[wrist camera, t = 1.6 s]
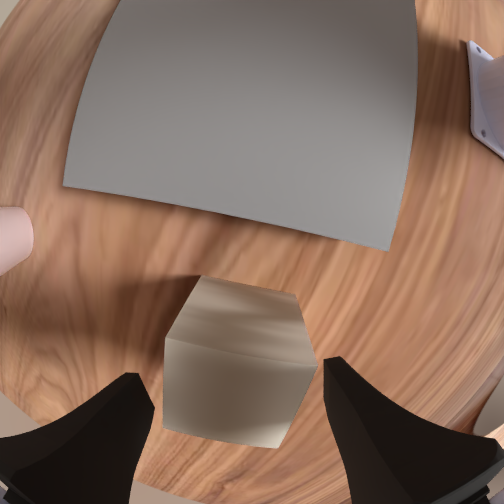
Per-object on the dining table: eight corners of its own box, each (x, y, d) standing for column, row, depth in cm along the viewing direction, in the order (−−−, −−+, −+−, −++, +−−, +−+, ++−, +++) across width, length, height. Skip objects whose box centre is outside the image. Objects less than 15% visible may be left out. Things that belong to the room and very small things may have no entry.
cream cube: (295, 293, 14) (318, 365, 8) (272, 367, 15) (278, 448, 9) (202, 274, 14) (165, 337, 8) (191, 351, 15) (162, 427, 9)
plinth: (392, 16, 9) (413, -7, 6) (362, 237, 13) (388, 252, 10) (165, -22, 9) (152, -49, 6) (96, 183, 12) (62, 186, 9)
